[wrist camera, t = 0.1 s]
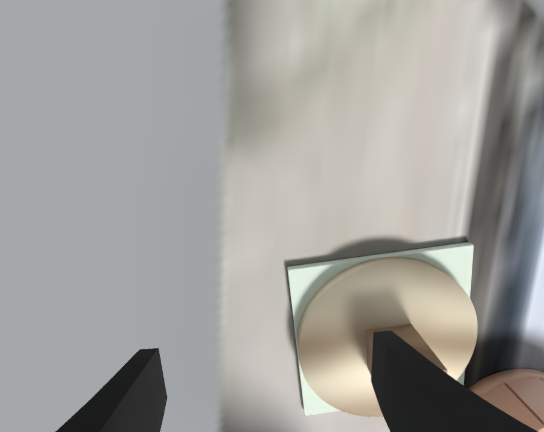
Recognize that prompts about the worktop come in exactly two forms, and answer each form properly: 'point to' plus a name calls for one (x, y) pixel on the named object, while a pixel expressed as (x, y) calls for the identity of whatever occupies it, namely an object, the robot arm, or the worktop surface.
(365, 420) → the worktop surface
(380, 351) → the robot arm
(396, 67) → the worktop surface
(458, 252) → the mat
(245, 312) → the worktop surface
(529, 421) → the bowl
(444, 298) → the lid
